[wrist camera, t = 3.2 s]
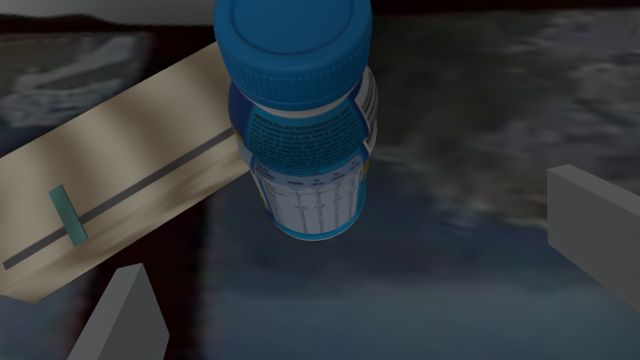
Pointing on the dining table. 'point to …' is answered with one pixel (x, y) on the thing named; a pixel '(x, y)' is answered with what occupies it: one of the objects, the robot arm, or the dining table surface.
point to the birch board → (115, 175)
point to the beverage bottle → (302, 106)
